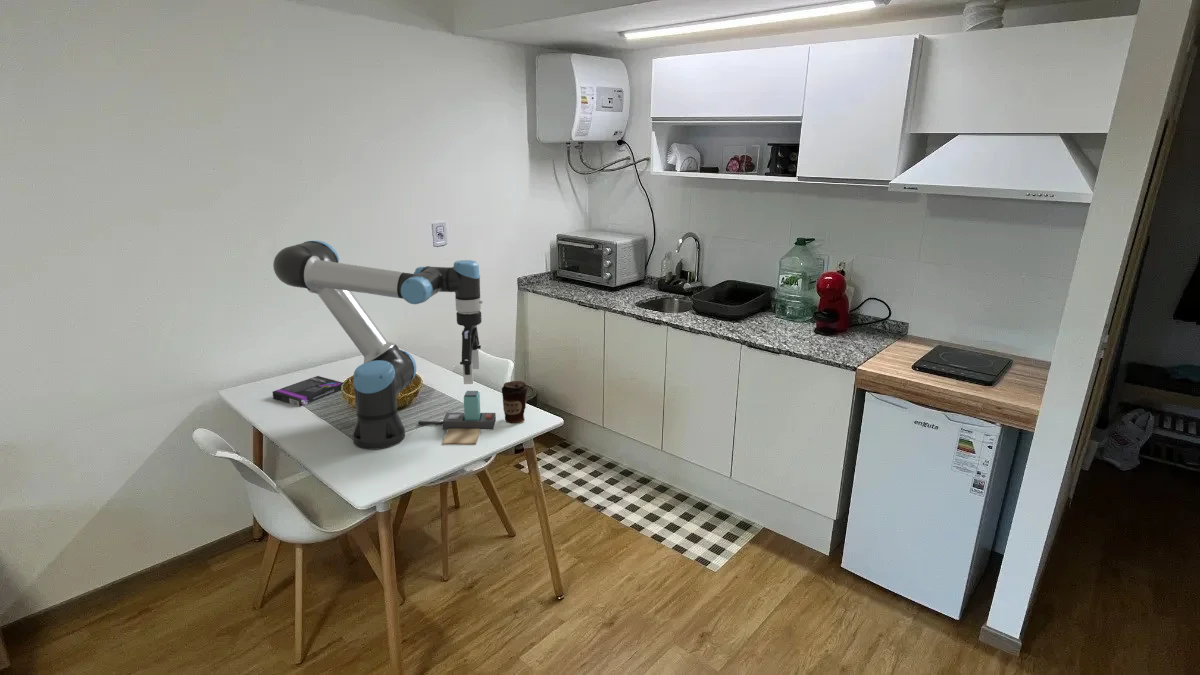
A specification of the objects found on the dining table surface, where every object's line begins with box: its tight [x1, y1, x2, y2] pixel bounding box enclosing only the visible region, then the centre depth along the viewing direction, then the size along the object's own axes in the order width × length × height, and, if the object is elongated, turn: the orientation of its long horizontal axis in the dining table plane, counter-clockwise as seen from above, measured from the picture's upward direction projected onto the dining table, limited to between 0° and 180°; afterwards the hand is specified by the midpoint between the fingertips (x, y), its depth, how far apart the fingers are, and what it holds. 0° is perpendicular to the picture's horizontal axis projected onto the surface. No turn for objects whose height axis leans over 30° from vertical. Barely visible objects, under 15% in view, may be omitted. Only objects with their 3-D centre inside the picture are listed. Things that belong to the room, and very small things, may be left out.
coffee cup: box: [501, 380, 528, 425], centre depth 206 cm, size 9×8×13 cm
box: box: [272, 375, 344, 407], centre depth 225 cm, size 14×4×20 cm
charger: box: [463, 390, 481, 421], centre depth 202 cm, size 4×4×11 cm
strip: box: [417, 412, 497, 431], centre depth 203 cm, size 25×7×3 cm, turn 93°
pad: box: [442, 429, 481, 445], centre depth 195 cm, size 10×10×1 cm
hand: (471, 376), depth 199 cm, fingers open, 13 cm apart
